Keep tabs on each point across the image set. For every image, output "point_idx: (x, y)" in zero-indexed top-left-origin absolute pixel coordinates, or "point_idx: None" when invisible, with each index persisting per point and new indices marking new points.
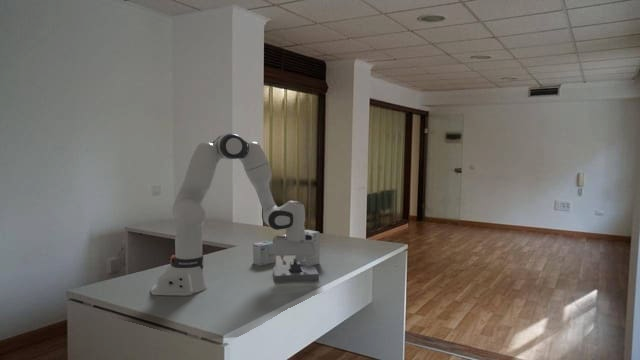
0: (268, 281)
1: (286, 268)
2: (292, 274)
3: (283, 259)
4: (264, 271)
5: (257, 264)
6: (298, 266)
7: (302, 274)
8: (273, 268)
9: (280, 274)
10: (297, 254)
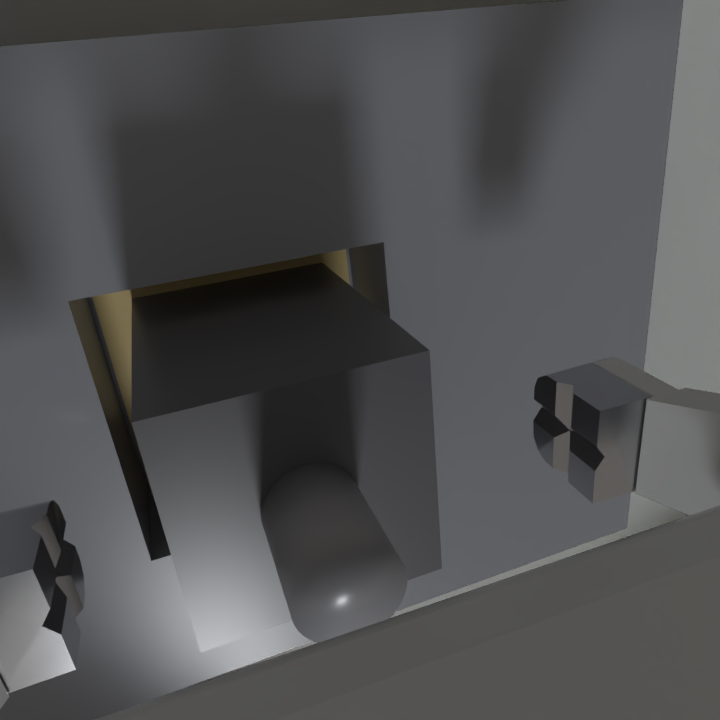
0: None
1: None
2: (320, 86)
3: (698, 451)
4: (644, 526)
5: None
6: (195, 374)
7: (33, 67)
8: None
9: (575, 98)
10: (333, 670)
